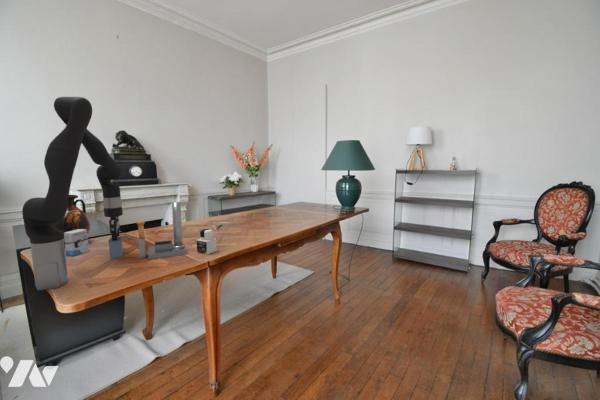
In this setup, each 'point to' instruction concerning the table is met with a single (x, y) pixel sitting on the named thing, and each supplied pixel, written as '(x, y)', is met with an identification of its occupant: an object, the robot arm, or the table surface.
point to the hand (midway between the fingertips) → (115, 238)
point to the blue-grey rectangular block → (116, 248)
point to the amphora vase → (73, 217)
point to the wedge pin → (141, 228)
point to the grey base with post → (167, 247)
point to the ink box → (76, 242)
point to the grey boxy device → (206, 242)
